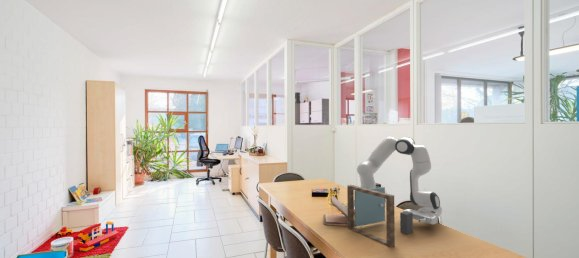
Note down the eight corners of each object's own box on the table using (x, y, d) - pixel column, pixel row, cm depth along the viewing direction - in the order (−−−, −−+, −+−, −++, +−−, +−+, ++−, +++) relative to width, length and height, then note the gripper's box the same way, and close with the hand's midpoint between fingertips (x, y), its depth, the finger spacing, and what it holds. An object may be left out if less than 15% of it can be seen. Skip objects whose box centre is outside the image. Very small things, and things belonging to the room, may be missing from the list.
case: (355, 227, 174) (355, 202, 174) (323, 225, 177) (323, 201, 177) (352, 216, 194) (352, 194, 194) (323, 215, 197) (323, 194, 197)
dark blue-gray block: (400, 231, 164) (400, 212, 164) (406, 229, 167) (405, 210, 167) (407, 234, 160) (406, 214, 160) (412, 232, 164) (412, 212, 163)
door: (357, 227, 168) (357, 191, 167) (354, 226, 171) (354, 190, 170) (387, 221, 177) (386, 187, 177) (383, 220, 180) (383, 186, 180)
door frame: (347, 228, 171) (347, 185, 171) (351, 227, 173) (350, 184, 172) (391, 247, 144) (390, 196, 143) (394, 245, 145) (394, 195, 145)
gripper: (410, 205, 183) (397, 209, 176) (440, 213, 166) (428, 218, 159) (410, 214, 184) (397, 218, 176) (440, 223, 166) (428, 228, 159)
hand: (412, 218), depth 167 cm, fingers open, 8 cm apart
